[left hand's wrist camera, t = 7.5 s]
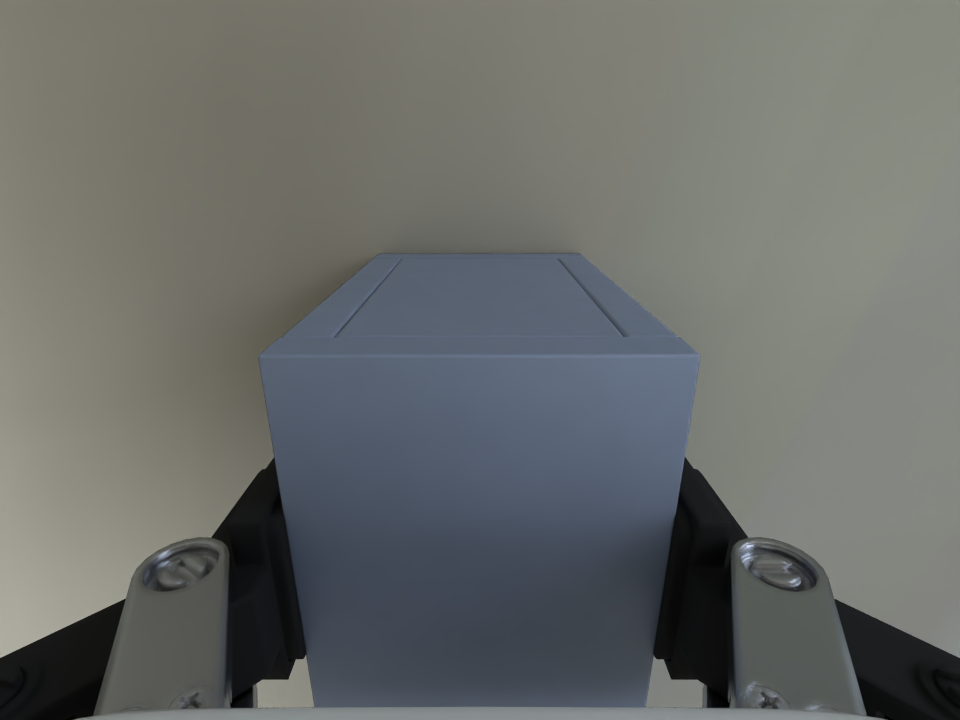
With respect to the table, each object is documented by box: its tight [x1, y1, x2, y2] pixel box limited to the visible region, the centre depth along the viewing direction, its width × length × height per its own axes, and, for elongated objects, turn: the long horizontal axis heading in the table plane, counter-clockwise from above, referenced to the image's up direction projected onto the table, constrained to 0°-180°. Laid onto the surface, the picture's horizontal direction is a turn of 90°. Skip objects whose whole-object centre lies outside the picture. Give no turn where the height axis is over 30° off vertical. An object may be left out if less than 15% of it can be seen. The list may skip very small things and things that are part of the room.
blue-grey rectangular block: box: [258, 254, 700, 708], centre depth 15 cm, size 20×6×9 cm, turn 0°
